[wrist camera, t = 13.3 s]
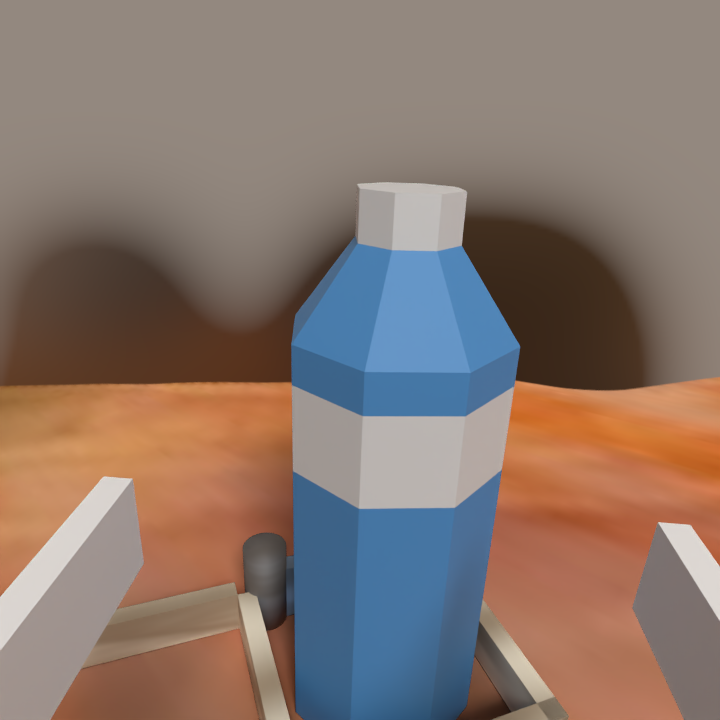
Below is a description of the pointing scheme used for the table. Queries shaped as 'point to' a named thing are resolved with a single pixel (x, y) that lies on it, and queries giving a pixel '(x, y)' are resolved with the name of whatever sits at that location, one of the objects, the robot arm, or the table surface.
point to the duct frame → (269, 610)
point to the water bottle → (396, 462)
